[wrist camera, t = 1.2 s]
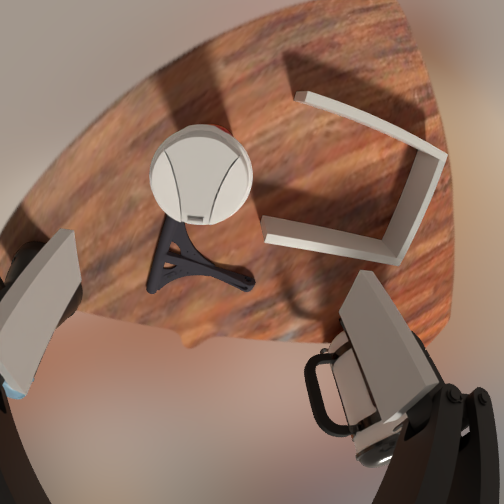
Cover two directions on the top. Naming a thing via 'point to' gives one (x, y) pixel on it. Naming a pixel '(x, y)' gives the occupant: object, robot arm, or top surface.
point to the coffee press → (352, 404)
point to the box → (404, 215)
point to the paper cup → (201, 174)
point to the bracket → (186, 261)
